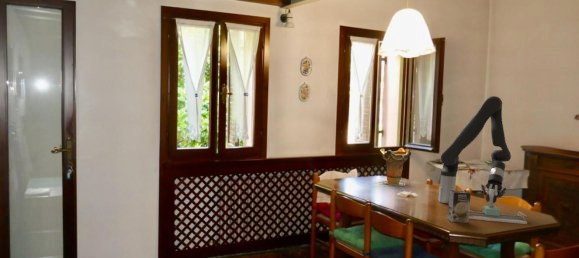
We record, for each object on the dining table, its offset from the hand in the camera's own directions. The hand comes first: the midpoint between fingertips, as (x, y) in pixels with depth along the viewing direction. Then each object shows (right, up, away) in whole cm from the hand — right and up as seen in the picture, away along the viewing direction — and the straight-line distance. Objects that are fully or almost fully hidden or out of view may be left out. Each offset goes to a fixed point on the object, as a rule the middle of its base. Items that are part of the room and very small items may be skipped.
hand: (490, 201), depth 248 cm
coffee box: (-22, -9, -9) cm, 25 cm away
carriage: (0, -7, +1) cm, 7 cm away
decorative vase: (-32, -1, +93) cm, 98 cm away
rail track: (+2, -10, +1) cm, 10 cm away
